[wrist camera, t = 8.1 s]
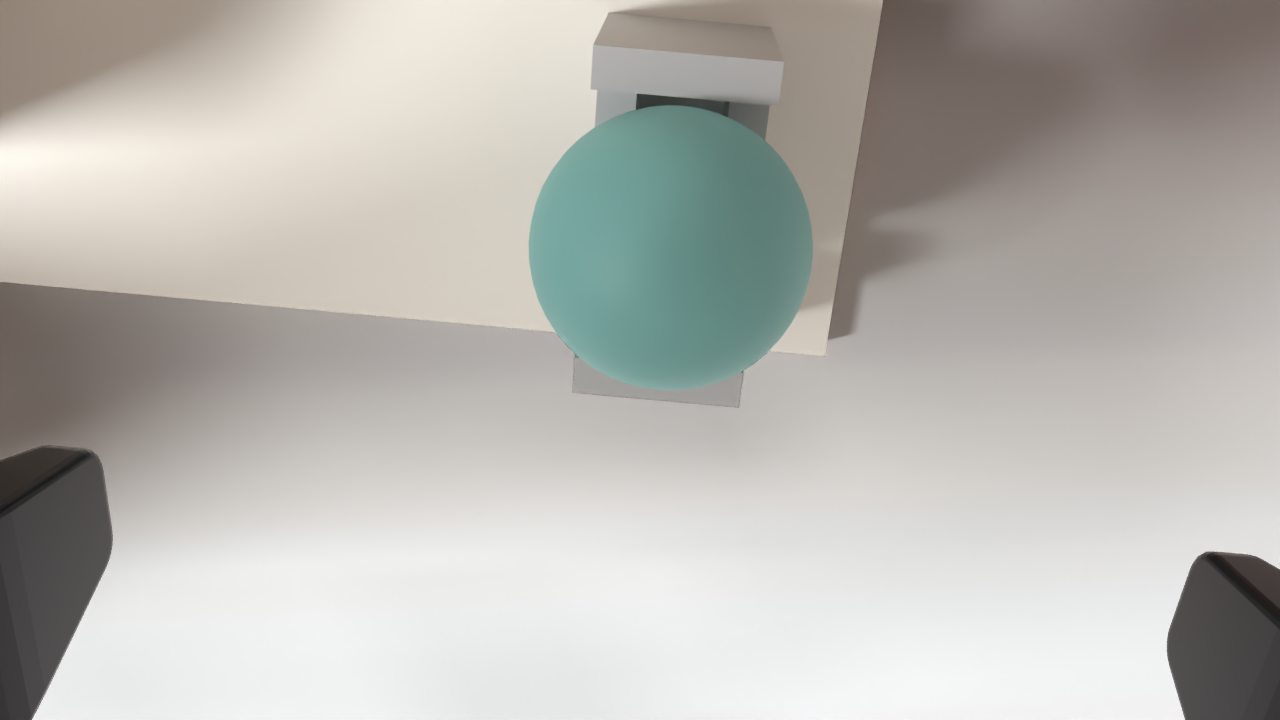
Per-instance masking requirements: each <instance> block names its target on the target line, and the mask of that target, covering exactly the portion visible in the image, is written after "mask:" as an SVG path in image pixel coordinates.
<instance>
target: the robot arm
mask: <svg viewBox="0 0 1280 720" xmlns="http://www.w3.org/2000/svg"><path fill="white" fill-rule="evenodd" d="M112 542H113V535H112V526H111V519H110V512H109V505H108V499H107V492H106V485H105V478H104V471H103V467H102V463H101V461H100V459H99V457H98V456H97V455H96V454H95V453H94V452H93V451H91V450H88V449H82V448H72V447H61V446H50V445H49V446H40V447H37V448H34V449H31V450H29V451H26V452H23V453H20V454H18V455H15V456H12V457H9V458H6V459H4V460H1V461H0V720H32V718H33V716H34V715H35V713H36V711H37V709H38V707H39V705H40V703H41V701H42V699H43V697H44V695H45V693H46V691H47V689H48V687H49V685H50V683H51V681H52V679H53V677H54V675H55V673H56V671H57V669H58V666H59V664H60V662H61V660H62V658H63V656H64V654H65V652H66V650H67V648H68V646H69V644H70V642H71V639H72V637H73V635H74V633H75V631H76V629H77V627H78V625H79V623H80V621H81V619H82V617H83V615H84V612H85V610H86V608H87V606H88V604H89V602H90V600H91V598H92V596H93V594H94V592H95V590H96V588H97V585H98V583H99V581H100V579H101V577H102V575H103V573H104V571H105V569H106V567H107V564H108V562H109V558H110V555H111V550H112ZM1167 656H1168V662H1169V666H1170V669H1171V673H1172V676H1173V680H1174V683H1175V686H1176V690H1177V693H1178V697H1179V700H1180V704H1181V707H1182V711H1183V714H1184V717H1185V720H1280V569H1278V568H1276V567H1275V566H1273V565H1271V564H1269V563H1267V562H1266V561H1264V560H1262V559H1260V558H1258V557H1256V556H1252V555H1248V554H1236V553H1225V552H1205V553H1203V554H1201V555H1200V556H1198V557H1197V558H1196V560H1195V561H1194V562H1193V564H1192V566H1191V568H1190V571H1189V574H1188V577H1187V580H1186V582H1185V585H1184V588H1183V591H1182V594H1181V597H1180V600H1179V603H1178V605H1177V608H1176V611H1175V614H1174V617H1173V620H1172V623H1171V626H1170V629H1169V633H1168V638H1167Z"/></svg>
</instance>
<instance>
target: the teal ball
mask: <svg viewBox="0 0 1280 720" xmlns="http://www.w3.org/2000/svg"><path fill="white" fill-rule="evenodd" d="M812 258H813V240H812V227H811V222H810V217H809V212H808V208H807V205H806V202H805V199H804V196H803V193H802V191H801V189H800V187H799V185H798V183H797V181H796V180H795V178H794V176H793V174H792V172H791V171H790V169H789V168H788V166H787V165H786V163H785V162H784V161H783V159H782V158H781V156H780V155H779V154H778V153H777V152H776V151H775V150H774V149H773V148H772V147H771V146H770V145H769V144H768V143H767V142H766V141H765V140H764V139H762V138H761V137H760V136H759V135H757V134H756V133H755V132H754V131H752V130H750V129H749V128H747V127H746V126H744V125H742V124H741V123H739V122H737V121H735V120H733V119H730V118H728V117H726V116H724V115H721V114H719V113H716V112H712V111H709V110H706V109H702V108H696V107H690V106H681V105H662V106H653V107H646V108H642V109H638V110H633V111H629V112H626V113H624V114H621V115H619V116H616V117H614V118H611V119H609V120H607V121H605V122H604V123H602V124H600V125H598V126H596V127H594V128H593V129H592V130H590V131H589V132H588V133H586V134H585V135H583V136H582V137H581V138H579V139H578V140H577V141H576V142H575V143H574V144H573V145H572V146H571V147H570V148H569V149H568V150H567V151H566V152H565V153H564V155H563V156H562V157H561V159H560V160H559V161H558V162H557V164H556V165H555V166H554V168H553V169H552V171H551V172H550V174H549V176H548V178H547V179H546V181H545V183H544V184H543V186H542V189H541V191H540V194H539V196H538V199H537V201H536V204H535V208H534V212H533V216H532V221H531V225H530V234H529V263H530V269H531V275H532V281H533V285H534V288H535V292H536V295H537V298H538V301H539V303H540V305H541V307H542V309H543V312H544V314H545V316H546V317H547V319H548V321H549V322H550V324H551V325H552V327H553V328H554V330H555V331H556V333H557V334H558V336H559V337H560V338H561V339H562V340H563V342H564V343H565V344H566V345H567V346H568V347H569V348H570V349H571V350H572V351H573V352H574V353H575V354H576V355H577V356H578V357H579V358H580V359H582V360H583V361H584V362H586V363H587V364H589V365H590V366H591V367H593V368H594V369H596V370H598V371H600V372H601V373H603V374H605V375H607V376H609V377H611V378H613V379H616V380H618V381H621V382H623V383H626V384H630V385H634V386H637V387H641V388H647V389H654V390H671V391H675V390H687V389H694V388H699V387H704V386H708V385H711V384H714V383H717V382H720V381H723V380H726V379H728V378H730V377H732V376H734V375H736V374H738V373H740V372H742V371H743V370H745V369H747V368H748V367H750V366H751V365H753V364H754V363H755V362H757V361H758V360H759V359H760V358H762V357H763V356H764V355H765V354H766V353H767V352H768V351H769V350H770V349H771V348H772V347H773V346H774V345H775V344H776V343H777V342H778V341H779V339H780V338H781V337H782V336H783V335H784V333H785V332H786V330H787V329H788V328H789V326H790V325H791V323H792V322H793V320H794V318H795V316H796V314H797V312H798V310H799V309H800V306H801V304H802V301H803V298H804V295H805V293H806V290H807V287H808V283H809V278H810V274H811V269H812Z"/></svg>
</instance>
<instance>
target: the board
mask: <svg viewBox="0 0 1280 720" xmlns="http://www.w3.org/2000/svg"><path fill="white" fill-rule="evenodd" d="M882 5H883V0H0V282H6V283H17V284H28V285H39V286H50V287H61V288H72V289H83V290H94V291H105V292H116V293H128V294H139V295H150V296H161V297H172V298H183V299H194V300H205V301H216V302H227V303H238V304H249V305H260V306H271V307H282V308H293V309H305V310H316V311H327V312H338V313H349V314H360V315H371V316H382V317H393V318H404V319H415V320H426V321H437V322H448V323H459V324H470V325H482V326H493V327H504V328H515V329H526V330H537V331H548V332H556V331H555V330H554V328H553V327H552V325H551V324H550V322H549V321H548V319H547V317H546V316H545V314H544V312H543V309H542V307H541V305H540V303H539V301H538V298H537V295H536V292H535V288H534V285H533V281H532V275H531V269H530V263H529V234H530V225H531V221H532V216H533V212H534V208H535V204H536V201H537V199H538V196H539V194H540V191H541V189H542V186H543V184H544V183H545V181H546V179H547V178H548V176H549V174H550V172H551V171H552V169H553V168H554V166H555V165H556V164H557V162H558V161H559V160H560V159H561V157H562V156H563V155H564V153H565V152H566V151H567V150H568V149H569V148H570V147H571V146H572V145H573V144H574V143H575V142H576V141H577V140H578V139H579V138H581V137H582V136H583V135H585V134H586V133H588V132H589V131H590V130H592V129H593V128H594V127H596V126H598V125H600V124H602V123H604V122H605V121H607V120H609V119H611V118H614V117H616V116H619V115H621V114H624V113H626V112H629V111H633V110H638V109H642V108H646V107H653V106H662V105H681V106H690V107H696V108H702V109H706V110H709V111H712V112H716V113H719V114H721V115H724V116H726V117H728V118H730V119H733V120H735V121H737V122H739V123H741V124H742V125H744V126H746V127H747V128H749V129H750V130H752V131H754V132H755V133H756V134H757V135H759V136H760V137H761V138H762V139H764V140H765V141H766V142H767V143H768V144H769V145H770V146H771V147H772V148H773V149H774V150H775V151H776V152H777V153H778V154H779V155H780V156H781V158H782V159H783V161H784V162H785V163H786V165H787V166H788V168H789V169H790V171H791V172H792V174H793V176H794V178H795V180H796V181H797V183H798V185H799V187H800V189H801V191H802V193H803V196H804V199H805V202H806V205H807V208H808V212H809V217H810V222H811V227H812V240H813V258H812V269H811V274H810V278H809V283H808V287H807V290H806V293H805V295H804V298H803V301H802V304H801V306H800V309H799V310H798V312H797V314H796V316H795V318H794V320H793V322H792V323H791V325H790V326H789V328H788V329H787V330H786V332H785V333H784V335H783V336H782V337H781V338H780V339H779V341H778V342H777V343H776V344H775V345H774V346H773V347H772V348H771V349H770V350H769V352H780V353H791V354H802V355H813V356H824V357H825V351H826V345H827V339H828V333H829V327H830V321H831V315H832V309H833V303H834V297H835V291H836V285H837V278H838V272H839V266H840V260H841V254H842V248H843V242H844V236H845V230H846V224H847V218H848V212H849V206H850V199H851V193H852V187H853V181H854V175H855V169H856V163H857V157H858V151H859V145H860V139H861V133H862V127H863V120H864V114H865V108H866V102H867V96H868V90H869V84H870V78H871V72H872V66H873V60H874V54H875V48H876V42H877V35H878V29H879V23H880V17H881V11H882ZM742 380H743V371H742V372H740V373H738V374H736V375H734V376H732V377H730V378H728V379H726V380H723V381H720V382H717V383H714V384H711V385H708V386H704V387H699V388H694V389H687V390H675V391H671V390H654V389H647V388H641V387H637V386H634V385H630V384H626V383H623V382H621V381H618V380H616V379H613V378H611V377H609V376H607V375H605V374H603V373H601V372H600V371H598V370H596V369H594V368H593V367H591V366H590V365H589V364H587V363H586V362H584V361H583V360H582V359H580V358H579V357H578V356H577V355H576V354H575V357H574V373H573V390H572V393H582V394H593V395H604V396H615V397H626V398H637V399H648V400H660V401H671V402H682V403H693V404H704V405H715V406H726V407H737V408H739V403H740V396H741V388H742Z"/></svg>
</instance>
